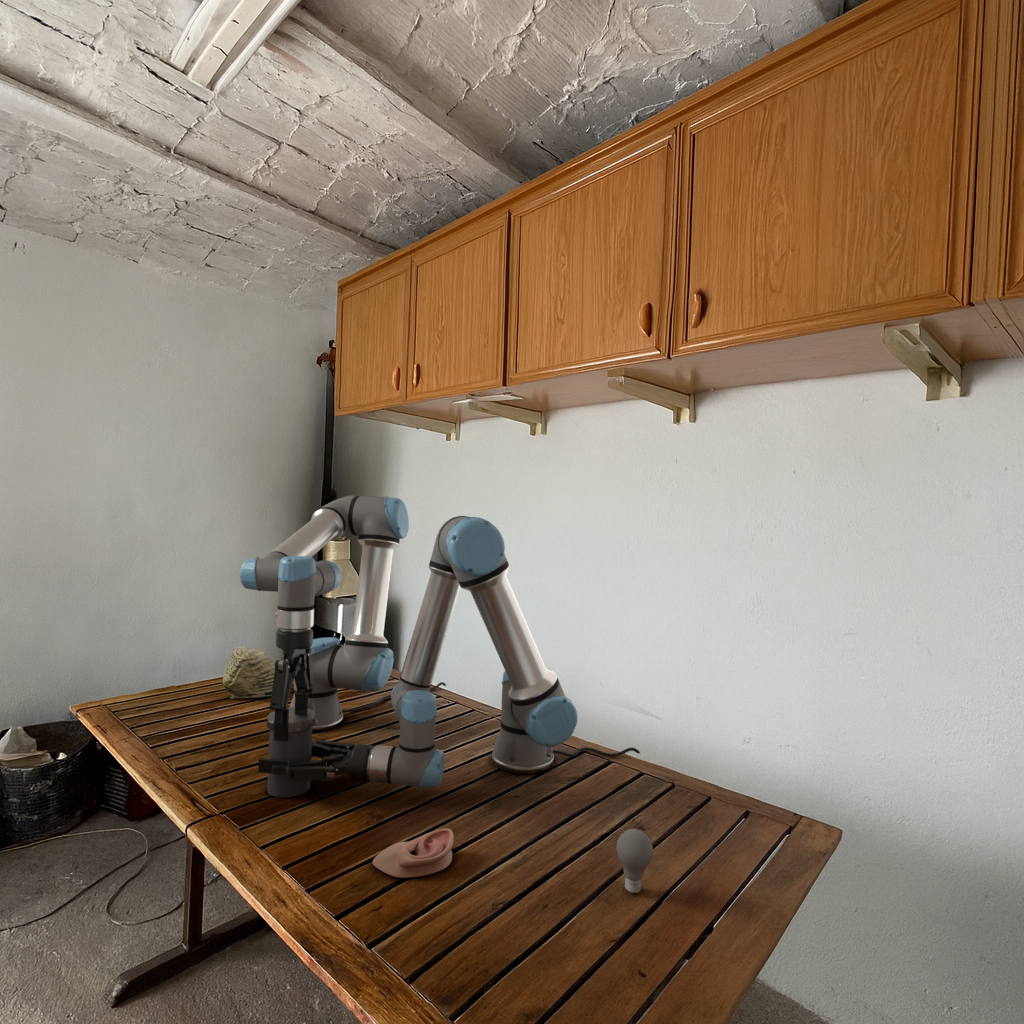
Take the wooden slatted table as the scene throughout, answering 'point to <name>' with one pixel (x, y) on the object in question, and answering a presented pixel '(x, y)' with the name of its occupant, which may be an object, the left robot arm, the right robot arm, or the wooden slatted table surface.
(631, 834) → the light bulb
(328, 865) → the wooden slatted table surface
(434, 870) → the anatomical model
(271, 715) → the lid
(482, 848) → the wooden slatted table surface
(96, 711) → the wooden slatted table surface
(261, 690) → the fossil
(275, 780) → the jar
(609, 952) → the wooden slatted table surface
